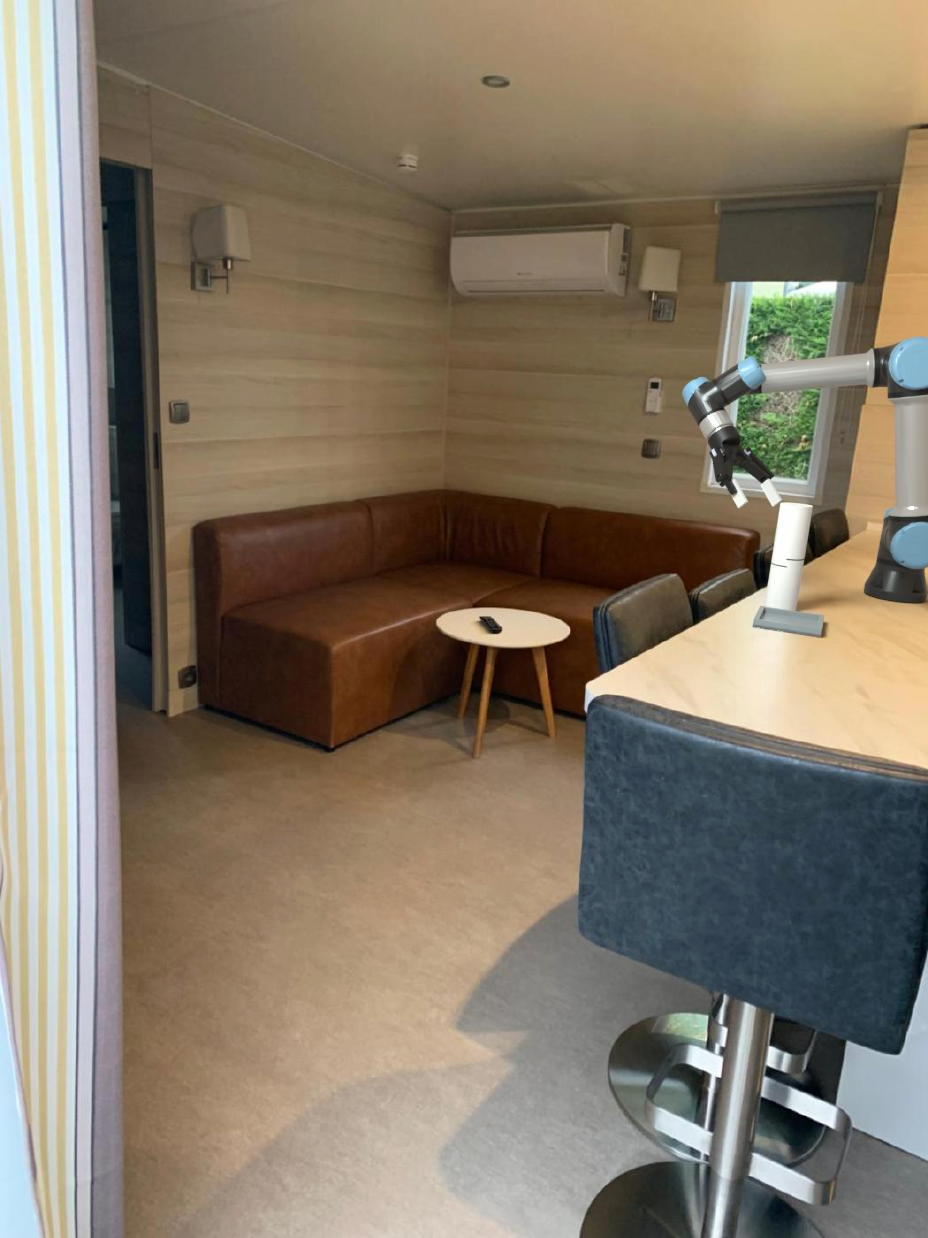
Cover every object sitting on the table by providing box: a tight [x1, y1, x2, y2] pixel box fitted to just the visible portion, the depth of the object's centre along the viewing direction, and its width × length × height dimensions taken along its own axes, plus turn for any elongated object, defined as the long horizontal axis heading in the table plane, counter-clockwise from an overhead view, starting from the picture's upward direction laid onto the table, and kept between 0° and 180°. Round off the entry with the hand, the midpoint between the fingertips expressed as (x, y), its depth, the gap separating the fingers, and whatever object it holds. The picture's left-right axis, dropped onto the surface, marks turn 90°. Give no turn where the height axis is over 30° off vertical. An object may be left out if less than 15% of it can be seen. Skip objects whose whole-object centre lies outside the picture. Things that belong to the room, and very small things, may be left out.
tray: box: [752, 605, 825, 638], centre depth 198 cm, size 14×14×2 cm
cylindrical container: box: [764, 501, 814, 611], centre depth 209 cm, size 7×7×25 cm
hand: (760, 504), depth 214 cm, fingers open, 13 cm apart
